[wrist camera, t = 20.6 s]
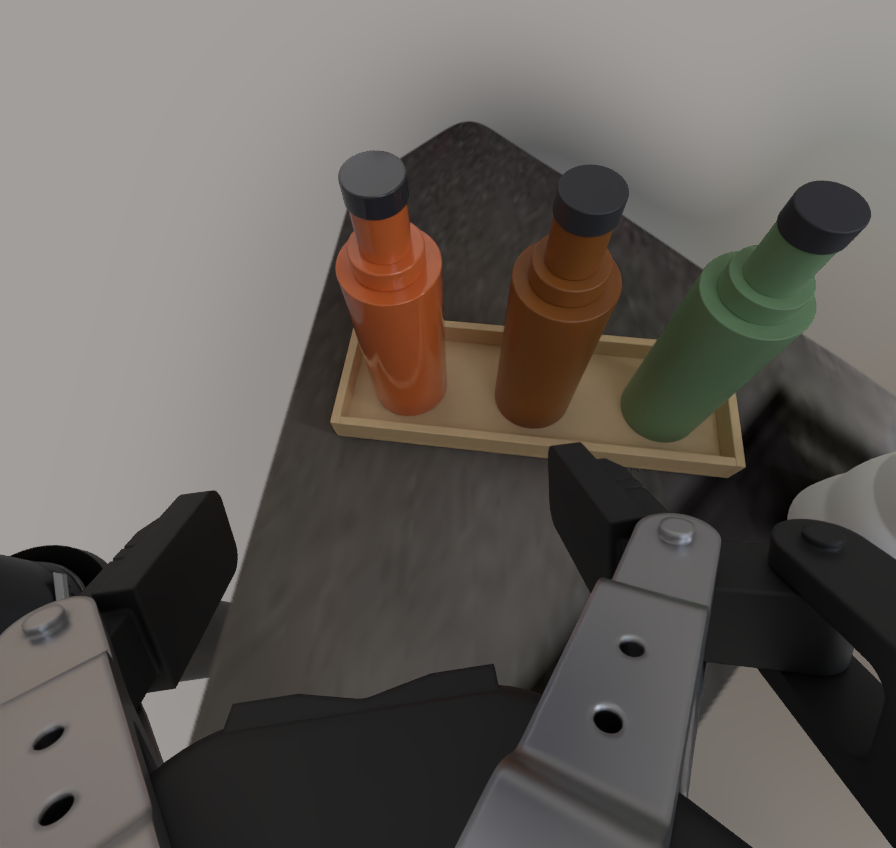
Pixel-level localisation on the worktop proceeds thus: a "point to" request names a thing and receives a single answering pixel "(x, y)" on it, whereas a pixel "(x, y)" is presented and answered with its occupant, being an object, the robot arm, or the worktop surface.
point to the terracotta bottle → (392, 286)
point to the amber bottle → (561, 299)
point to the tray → (586, 420)
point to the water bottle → (856, 501)
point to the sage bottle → (741, 314)
